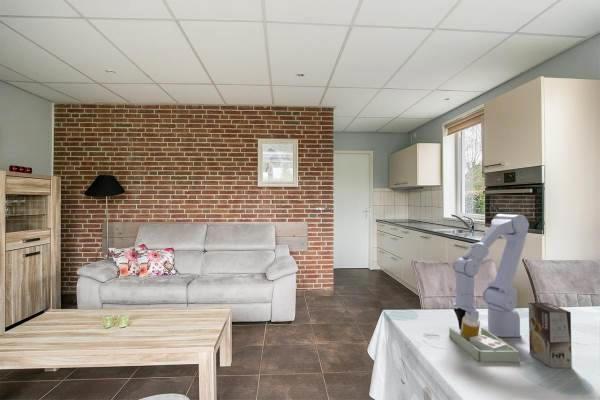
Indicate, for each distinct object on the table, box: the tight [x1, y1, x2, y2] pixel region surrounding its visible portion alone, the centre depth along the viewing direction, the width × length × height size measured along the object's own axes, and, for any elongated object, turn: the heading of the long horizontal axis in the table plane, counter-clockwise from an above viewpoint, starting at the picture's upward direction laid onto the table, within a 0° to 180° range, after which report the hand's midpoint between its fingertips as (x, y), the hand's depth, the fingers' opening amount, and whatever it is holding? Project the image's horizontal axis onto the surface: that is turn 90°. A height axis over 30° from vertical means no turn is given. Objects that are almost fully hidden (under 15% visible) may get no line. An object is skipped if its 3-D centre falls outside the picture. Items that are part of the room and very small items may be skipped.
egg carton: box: [470, 334, 508, 351], centre depth 97 cm, size 6×8×5 cm
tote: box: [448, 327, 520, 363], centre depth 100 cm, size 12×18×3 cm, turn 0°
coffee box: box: [528, 302, 573, 369], centre depth 93 cm, size 9×6×16 cm
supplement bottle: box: [459, 311, 481, 342], centre depth 106 cm, size 5×5×10 cm
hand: (463, 330), depth 109 cm, fingers closed, pressing on supplement bottle
